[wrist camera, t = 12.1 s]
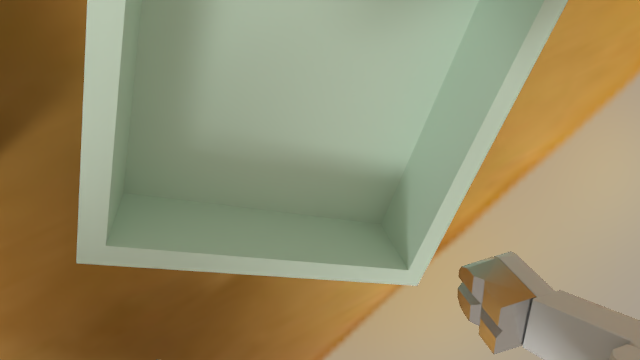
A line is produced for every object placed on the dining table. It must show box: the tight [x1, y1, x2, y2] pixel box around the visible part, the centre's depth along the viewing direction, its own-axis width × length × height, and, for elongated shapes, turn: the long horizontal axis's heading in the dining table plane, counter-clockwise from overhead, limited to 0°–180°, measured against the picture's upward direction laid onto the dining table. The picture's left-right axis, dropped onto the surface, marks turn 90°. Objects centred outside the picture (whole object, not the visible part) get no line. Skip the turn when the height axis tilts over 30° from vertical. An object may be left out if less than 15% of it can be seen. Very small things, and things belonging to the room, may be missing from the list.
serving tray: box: [76, 0, 568, 286], centre depth 17 cm, size 18×16×5 cm
